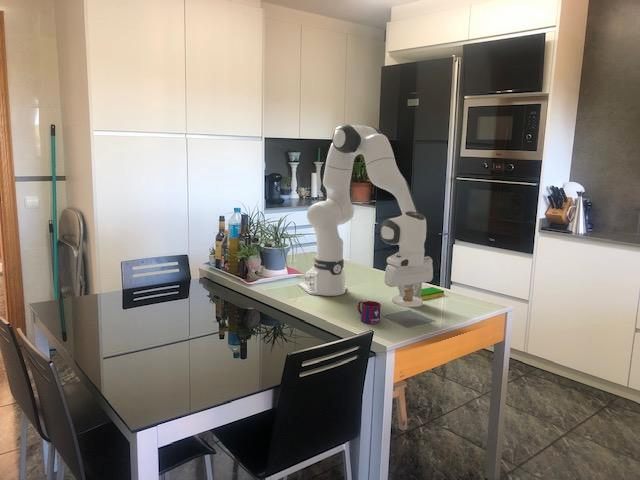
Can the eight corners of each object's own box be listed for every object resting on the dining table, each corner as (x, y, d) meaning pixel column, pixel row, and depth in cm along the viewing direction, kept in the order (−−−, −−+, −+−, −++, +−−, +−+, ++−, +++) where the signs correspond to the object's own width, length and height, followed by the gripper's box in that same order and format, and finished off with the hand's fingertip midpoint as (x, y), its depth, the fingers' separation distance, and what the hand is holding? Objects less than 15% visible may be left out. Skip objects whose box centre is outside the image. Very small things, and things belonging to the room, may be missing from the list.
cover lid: (385, 299, 188) (386, 286, 187) (408, 295, 194) (409, 283, 193) (406, 308, 179) (407, 295, 178) (429, 304, 185) (430, 291, 184)
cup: (368, 326, 180) (369, 307, 179) (352, 317, 189) (352, 299, 187) (383, 323, 183) (384, 305, 182) (367, 315, 192) (368, 297, 191)
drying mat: (380, 316, 191) (381, 315, 190) (409, 310, 198) (409, 309, 198) (406, 328, 179) (407, 327, 179) (436, 321, 187) (436, 320, 187)
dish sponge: (408, 296, 218) (409, 291, 218) (432, 292, 226) (432, 286, 226) (421, 301, 213) (421, 295, 212) (444, 296, 220) (444, 290, 220)
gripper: (426, 253, 191) (422, 289, 194) (383, 258, 180) (380, 296, 183) (438, 257, 186) (435, 294, 189) (395, 262, 175) (391, 301, 178)
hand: (407, 295), depth 186 cm, fingers closed on cover lid, 4 cm apart
